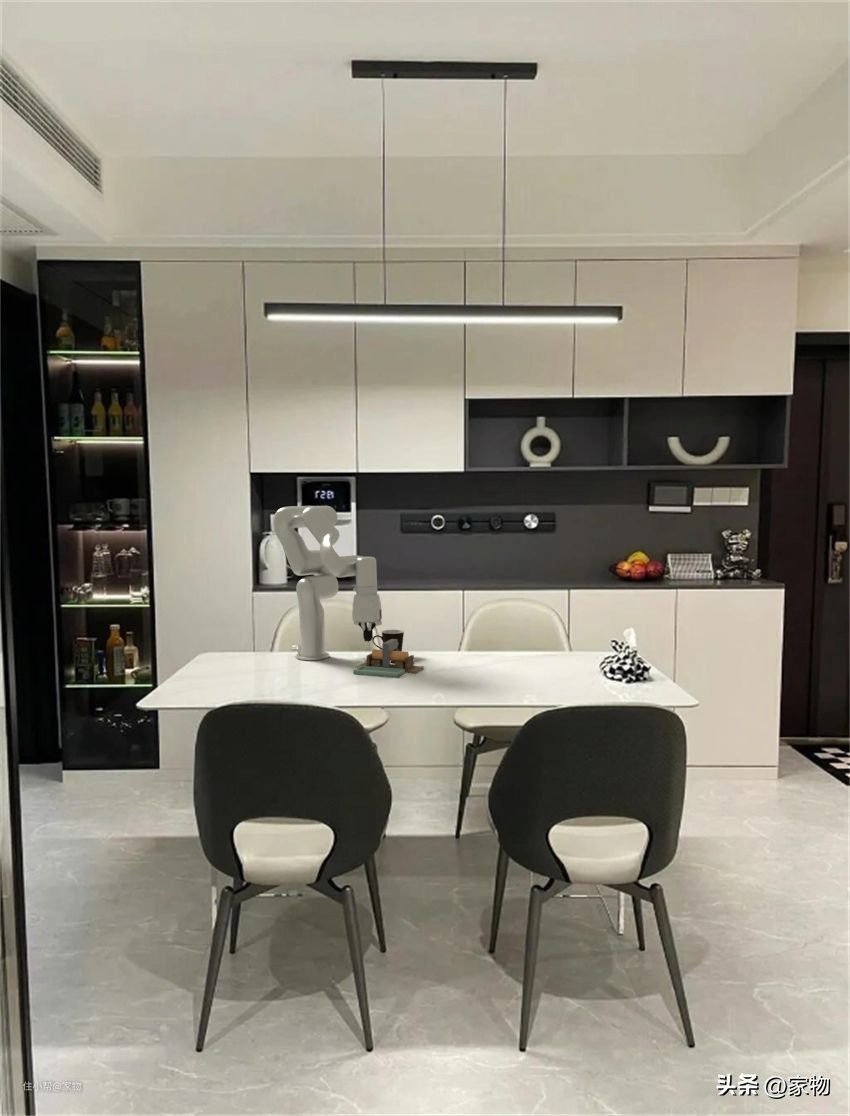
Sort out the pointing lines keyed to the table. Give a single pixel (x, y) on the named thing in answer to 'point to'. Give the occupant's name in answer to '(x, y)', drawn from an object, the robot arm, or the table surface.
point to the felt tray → (379, 671)
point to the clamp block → (406, 664)
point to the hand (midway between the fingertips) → (368, 640)
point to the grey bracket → (388, 651)
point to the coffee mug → (391, 637)
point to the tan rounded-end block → (393, 655)
